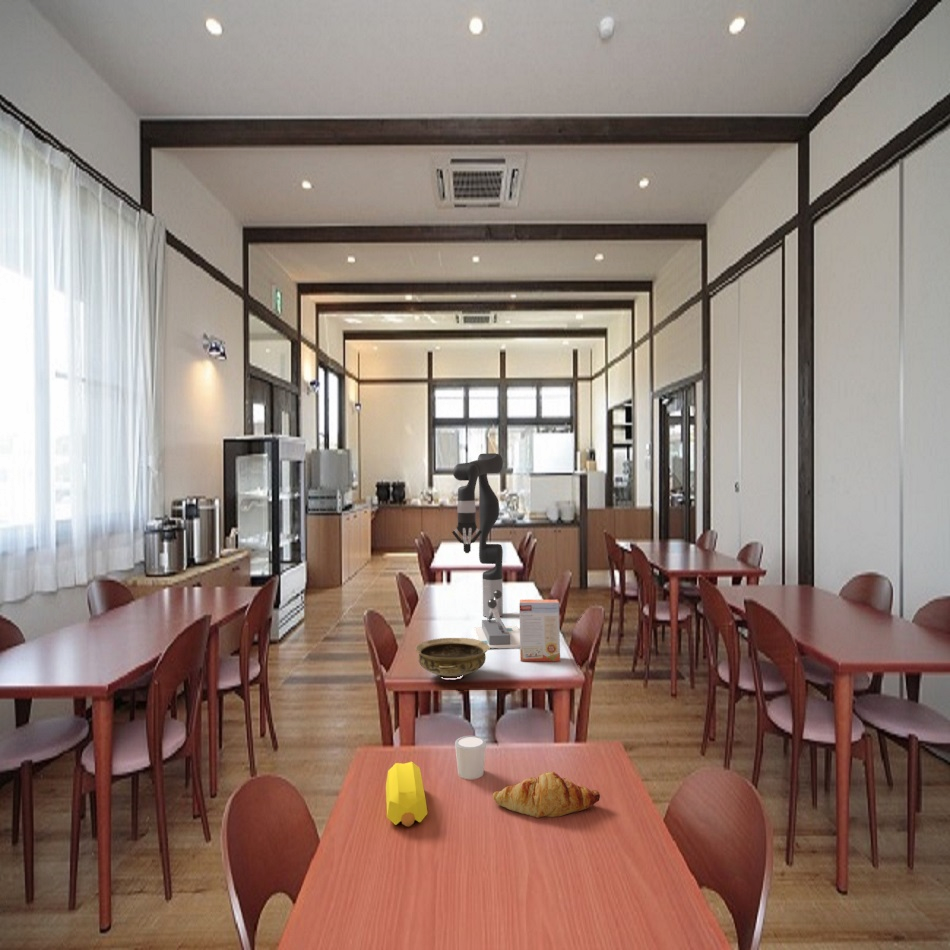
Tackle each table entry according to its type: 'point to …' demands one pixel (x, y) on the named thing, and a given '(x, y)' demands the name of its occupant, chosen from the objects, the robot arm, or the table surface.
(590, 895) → the table surface
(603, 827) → the table surface
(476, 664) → the ceramic bowl
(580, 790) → the croissant
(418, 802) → the yellow faceted prism
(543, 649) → the cracker box
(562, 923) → the table surface
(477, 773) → the shot glass
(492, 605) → the lever outer
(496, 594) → the lever inner
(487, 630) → the switch unit
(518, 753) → the table surface
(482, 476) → the robot arm
